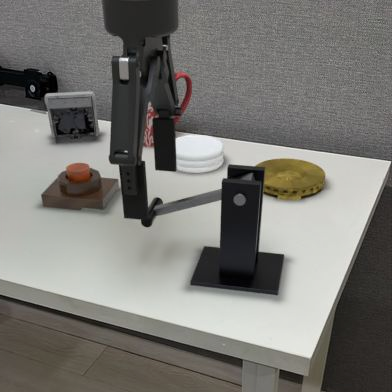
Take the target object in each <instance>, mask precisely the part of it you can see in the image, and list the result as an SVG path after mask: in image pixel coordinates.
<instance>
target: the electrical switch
mask: <svg viewBox="0 0 392 392" xmlns="http://www.w3.org/2000/svg"><path fill="white" fill-rule="evenodd" d="M44 103H45V105H46V110H47V111H46V112H47V117H48V122H49V128H50V134H51V137H52V138H53V139H55V143H73V142H82V141H84V142H85V141H97V137H98V136H100V127H99V120H98V119H99V117H98V109H97V100H96V94H95V92H93V91H92V90H88V91H70V92H69V91H68V92H48V93H45V95H44Z"/></svg>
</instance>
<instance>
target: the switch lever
mask: <svg viewBox="0 0 392 392" xmlns="http://www.w3.org/2000/svg"><path fill="white" fill-rule="evenodd" d="M231 179H240V180H252V181H255V178H254V174H253V173H250V174H246V175H242V176H239V177H235V178H231ZM221 189H222V188H219V189H216V190H211V191H208V192H203V193H200V194H196V195H195V194H194V195H192V196H187V197H184V198H180V199H175V200H172V201H169V202H164V200H163V199H162V198H161V197H158V196H157V197H156V196H155V197H154V198H152V200H151V202H150V203H149V204H148V209H149V218H148V220H140V225H141V226H142V227H144V228H151V227H152V225H153V224H154V222H155V220H156V219H157V217H159V216H164V215H167V214H172V213H175V212H180V211H183V210H187V209H192V208H196V207H199V206H203V205H208V204H211V203H215V202H221Z"/></svg>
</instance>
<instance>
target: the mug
mask: <svg viewBox="0 0 392 392" xmlns="http://www.w3.org/2000/svg"><path fill="white" fill-rule="evenodd" d="M174 73H175V79H176V83H177V82H178V80H180V79H181V78H182V79H184V80H185V83H186V89H185V95H184V97H183V99H182V102H181V104H180V105H179V107H181V109H182V113H181V117H182V116H183V115H184V113H185V111H186V109H187V107H188V105H189V103H190V100H191V96H192V92H193V83H192V79H191V77H190V76H189V74H187V73H185V72H183V71H177V72H174ZM154 117H158V118H159V116H157V115H155V113H154V110H153V108H152V105H151V102H149V104H148V111H147V119H146V127H145V135H144V144H143V147H150V148H152V147H153V148H154V140H153V123H152V119H153V118H154ZM181 117H173V116H172V118H174V119H175V126H176V125H177V123H178V122H179V120H180V119H181Z"/></svg>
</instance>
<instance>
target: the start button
mask: <svg viewBox="0 0 392 392" xmlns="http://www.w3.org/2000/svg"><path fill="white" fill-rule="evenodd" d="M90 168H91V167H90V165H89V164H88V163H84V162H74V163H71V164H68V165H66V167H65V170H66V171H67V177H68V180H70V181H77V182H78V181H85V180H87V179H90V178H91V174H90Z"/></svg>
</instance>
